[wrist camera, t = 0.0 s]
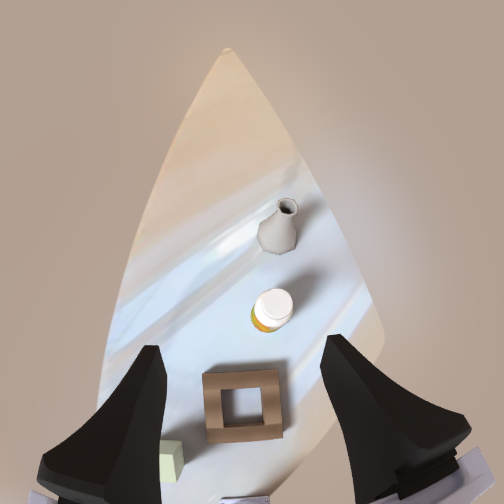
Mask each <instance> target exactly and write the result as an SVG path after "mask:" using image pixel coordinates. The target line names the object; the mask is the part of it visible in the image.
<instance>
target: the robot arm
mask: <svg viewBox="0 0 504 504" xmlns="http://www.w3.org/2000/svg"><path fill="white" fill-rule="evenodd" d="M320 369H321V373H322V377H323V381H324V385H325V388H326V390H327V393H328V395H329V398H330V400H331V403H332V405H333V408H334V410H335V413H336V415H337V418H338V420H339V423H340V426H341V429H342V431H343V435H344V439H345V443H346V447H347V451H348V456H349V460H350V465H351V471H352V477H353V484H354V492H355V503H356V504H470V503H472V502H473V501H474V500H475V499H476V498H478V497H479V496H480V495H481V494H483V493H484V492H485V491H486V490H488V489H489V488H490V487H491V486H492V485H494V484H495V482H496V481H495V478H494V476H493V474H492V472H491V470H490V468H489V466H488V465H487V463H486V461H485V459H484V457H483V455H482V453H481V451H480V450H479V448H478V447H475V448H474V449H472V450H471V451H469V452H468V453H466V454H465V455H463V456H462V457H460V458H459V459H457V460H456V459H455V457H454V456H455V455H457V452H456V450H455V447H456V446H458V445H459V444H460V443H461V442H462V441H463V440H464V439H465V438H466V437H467V436H468V435H469V434H470V432H471V429H472V428H471V426H470V425H469V423H468V422H467V420H466V418H465V417H464V415H462V414H459V413H456V412H453V411H449V410H446V409H444V408H441V407H439V406H436V405H434V404H432V403H430V402H428V401H425V400H423V399H422V398H420V397H418V396H416V395H414V394H412V393H411V392H409V391H407V390H406V389H404V388H403V387H401V386H400V385H398V384H397V383H395V382H394V381H393V380H391V379H390V378H389V377H387V376H386V375H385V374H384V373H382V372H381V371H380V370H379V369H377V368H376V367H375V366H374V365H373V364H372V363H371V362H370V361H368V360H367V359H366V358H365V357H364V356H363V355H362V354H361V353H360V352H359V351H358V350H357V349H356V348H355V347H354V346H352V345H351V344H350V343H349V342H348V341H347V340H346V339H345V338H344V337H343V336H342V335H341V334H336V335H328V336H327V340H326V344H325V348H324V352H323V356H322V360H321V364H320ZM166 396H167V373H166V370H165V367H164V363H163V360H162V356H161V353H160V349H159V346H158V345H145V346H144V347H143V348H142V349H141V351H140V353H139V354H138V356H137V358H136V359H135V361H134V363H133V364H132V366H131V367H130V369H129V370H128V372H127V373H126V375H125V376H124V378H123V379H122V381H121V382H120V383H119V385H118V386H117V388H116V389H115V390H114V391H113V393H112V394H111V395H110V397H109V398H108V399H107V400H106V402H105V403H104V404H103V405H102V406H101V408H100V409H99V410H98V411H97V412H96V413H95V414H94V415H93V416H92V417H91V418H90V419H89V420H88V421H87V422H86V423H85V424H84V425H83V426H82V427H81V428H80V429H78V430H77V431H76V432H75V433H73V434H72V435H71V436H70V437H68V438H67V439H66V440H65V441H63V442H62V443H60V444H59V445H57V446H56V447H54V448H53V449H51V450H50V451H48V452H47V453H45V454H43V456H42V459H41V462H40V466H39V470H38V475H37V482H38V483H39V484H40V485H42V486H43V487H45V488H46V489H48V490H50V491H51V492H53V493H54V494H56V495H58V496H59V499H58V501H57V500H54V499H52V498H50V497H47V496H45V495H42V494H40V493H38V492H35V491H33V490H30V493H29V498H28V503H27V504H162V500H161V488H160V463H159V457H160V437H161V430H162V423H163V416H164V410H165V403H166ZM265 500H268V501H265ZM221 503H224V504H270V498H269V496H259V497H248V498H232V499H220V500H219V504H221Z"/></svg>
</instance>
